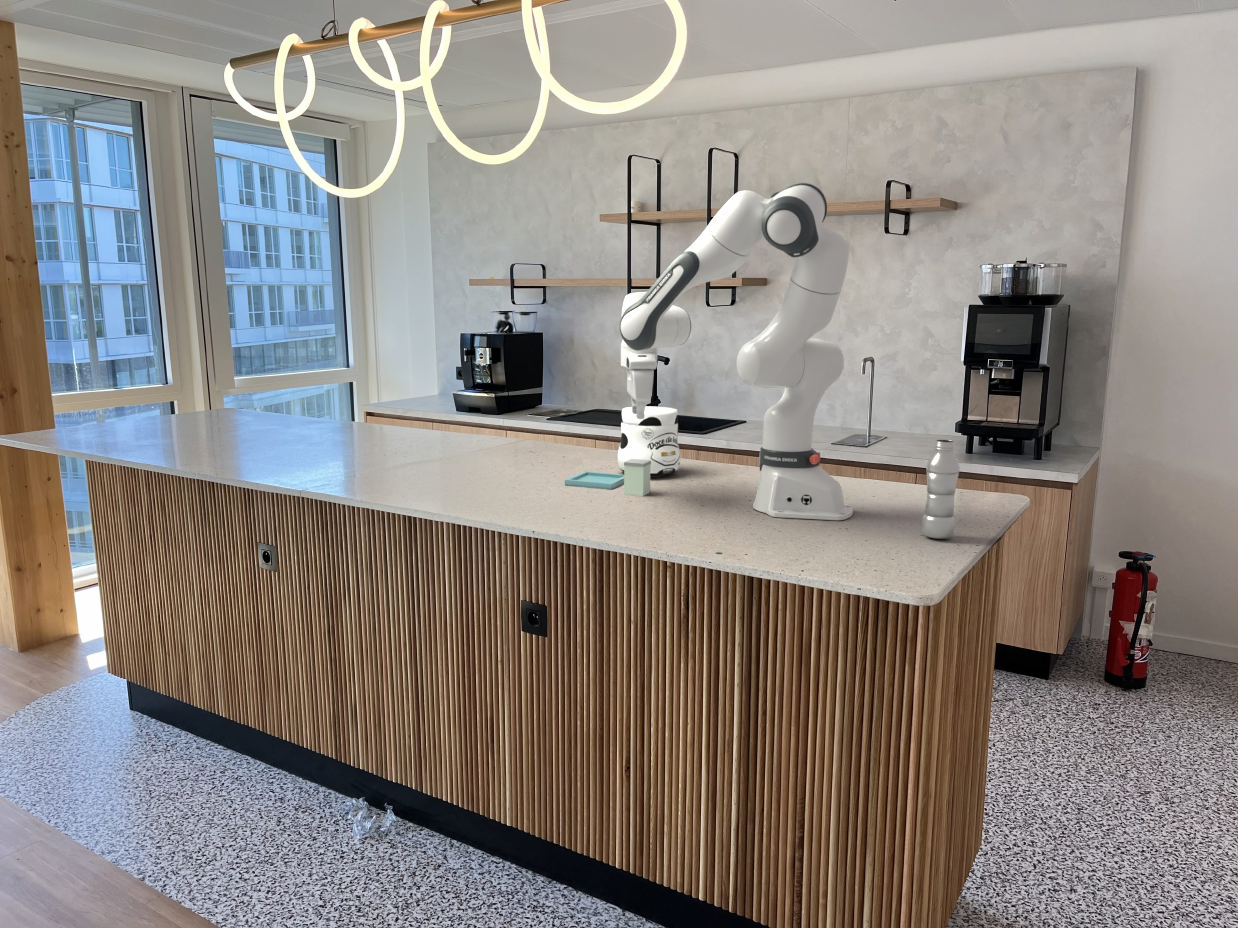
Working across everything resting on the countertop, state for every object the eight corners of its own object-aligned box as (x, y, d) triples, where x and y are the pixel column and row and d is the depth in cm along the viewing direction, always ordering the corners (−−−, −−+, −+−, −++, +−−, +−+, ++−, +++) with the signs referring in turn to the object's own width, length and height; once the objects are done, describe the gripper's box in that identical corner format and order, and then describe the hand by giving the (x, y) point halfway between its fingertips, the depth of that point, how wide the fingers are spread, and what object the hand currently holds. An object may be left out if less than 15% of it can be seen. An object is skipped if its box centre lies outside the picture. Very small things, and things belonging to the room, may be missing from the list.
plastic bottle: (916, 539, 180) (923, 441, 177) (925, 532, 186) (932, 437, 182) (949, 543, 177) (957, 444, 173) (957, 536, 182) (965, 440, 179)
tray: (629, 480, 237) (629, 475, 237) (611, 489, 225) (611, 484, 225) (585, 476, 242) (585, 471, 241) (564, 485, 230) (564, 479, 229)
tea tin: (650, 492, 222) (651, 460, 221) (643, 496, 218) (643, 463, 216) (631, 490, 224) (631, 458, 223) (623, 494, 219) (623, 462, 218)
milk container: (673, 482, 236) (674, 414, 232) (610, 478, 240) (610, 411, 237) (685, 470, 252) (687, 407, 249) (626, 467, 256) (627, 404, 253)
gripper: (621, 356, 225) (620, 410, 227) (630, 362, 205) (629, 421, 207) (646, 356, 225) (645, 410, 228) (657, 362, 205) (656, 421, 208)
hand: (637, 416), depth 218 cm, fingers open, 8 cm apart
